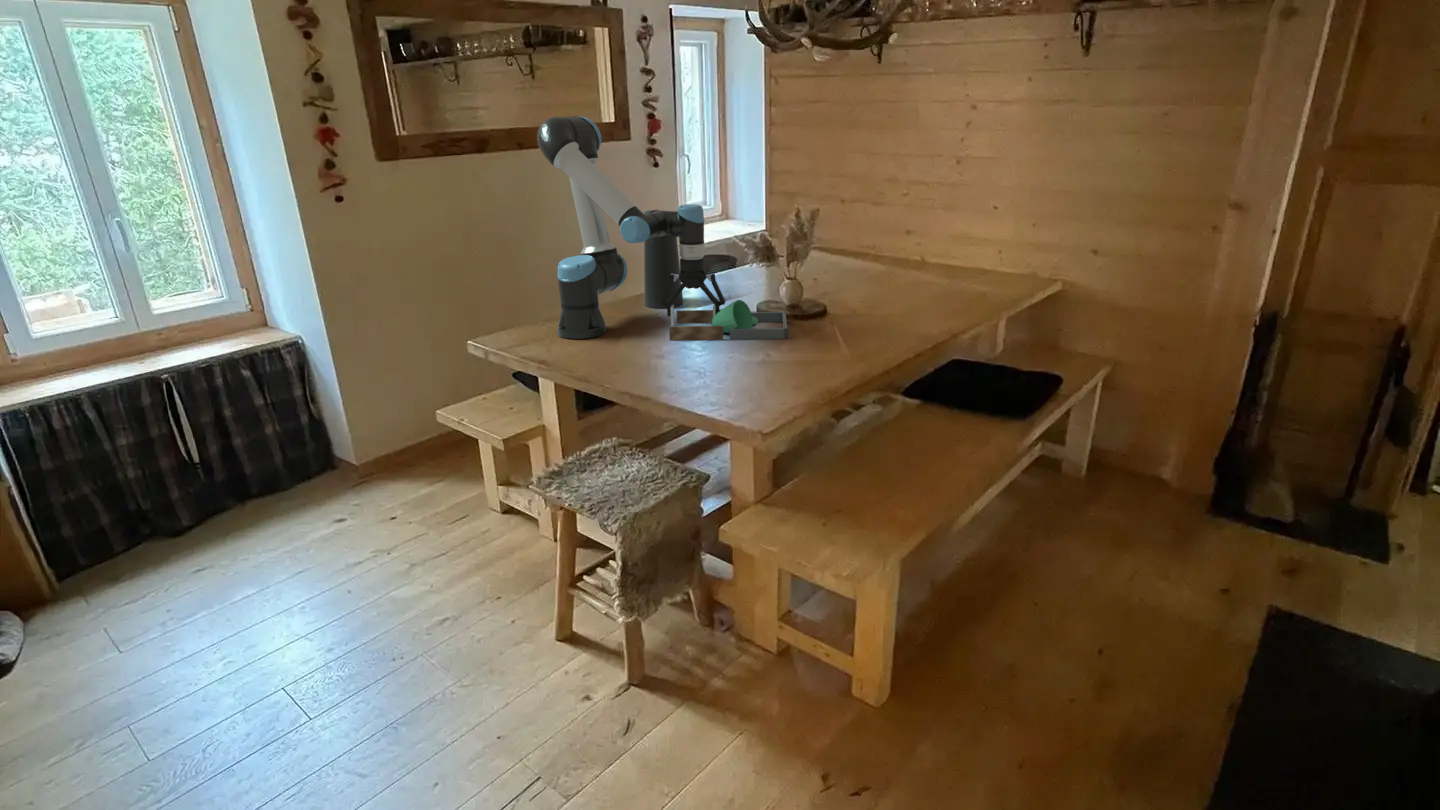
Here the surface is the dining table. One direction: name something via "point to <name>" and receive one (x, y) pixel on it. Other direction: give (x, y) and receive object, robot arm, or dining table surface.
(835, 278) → the dining table surface
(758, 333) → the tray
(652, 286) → the vase
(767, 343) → the dining table surface
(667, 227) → the robot arm
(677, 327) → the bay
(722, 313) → the mug
